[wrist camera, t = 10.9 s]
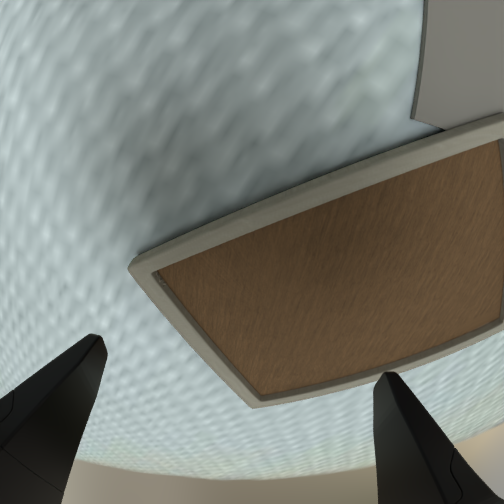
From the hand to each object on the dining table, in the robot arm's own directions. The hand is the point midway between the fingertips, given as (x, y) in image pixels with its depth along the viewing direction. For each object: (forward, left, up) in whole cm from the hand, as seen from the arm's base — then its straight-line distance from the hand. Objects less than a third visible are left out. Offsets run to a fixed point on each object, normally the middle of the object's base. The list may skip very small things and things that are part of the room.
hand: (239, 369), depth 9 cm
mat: (-13, +18, -12) cm, 25 cm away
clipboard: (+5, +9, -12) cm, 16 cm away
